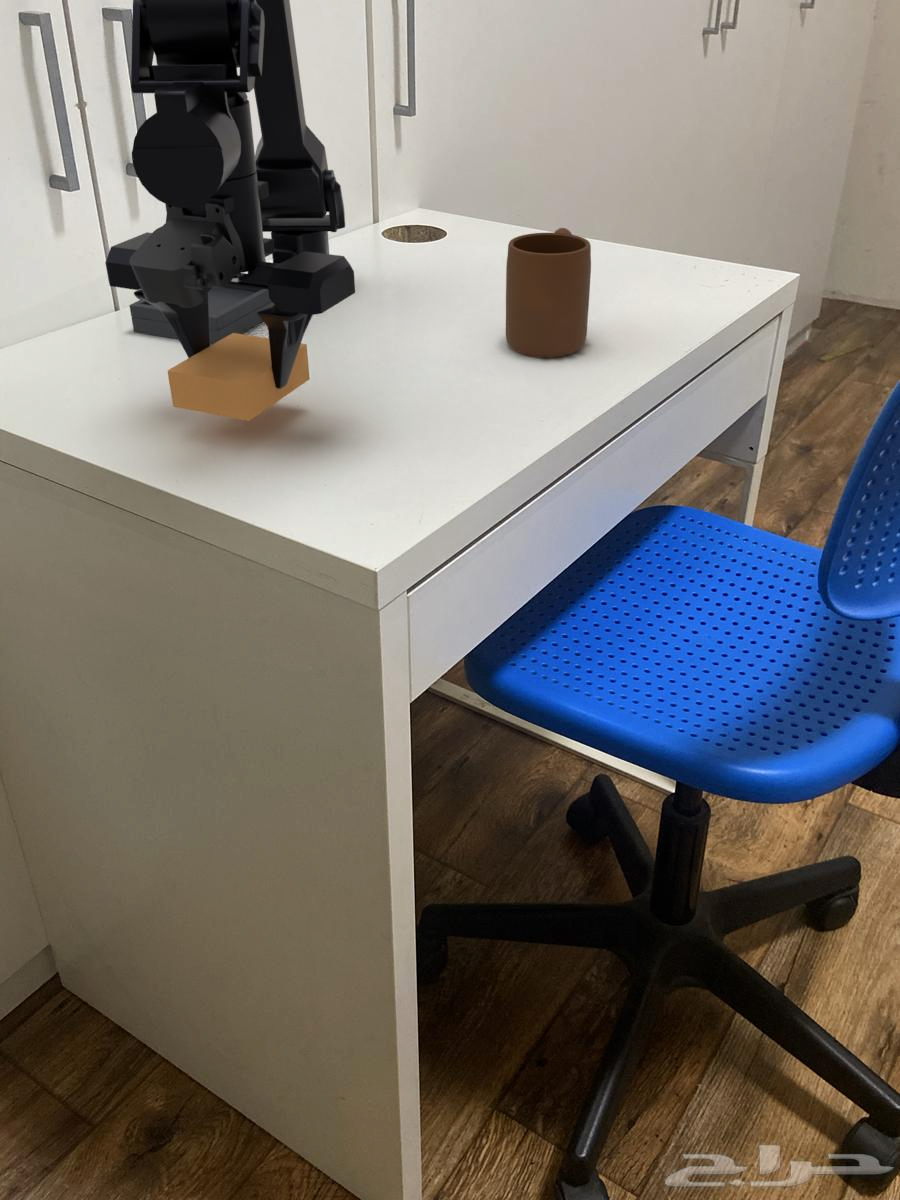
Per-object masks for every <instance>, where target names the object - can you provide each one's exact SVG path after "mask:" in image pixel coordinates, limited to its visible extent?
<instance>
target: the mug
mask: <svg viewBox="0 0 900 1200" xmlns="http://www.w3.org/2000/svg"><path fill="white" fill-rule="evenodd" d="M505 273H506V274H505V339H506V343H507V344H508V346H509V347H510V348H511V349H512V350H513V351H515V352H517V353H519V354H522V355H525V356H530V357H538V358H557V357H563V356H568V355H572V354H574V353H576V352H578V351H579V350H581V349H582V348H583V347H584V345H585V343H586V341H587V335H588V320H589V307H590V293H591V274H592V245H591V242H590V241H589V240H588V239H587V238H584V237H582V236H579V235H575V234H572V232H571V231H570V230H569V229H568V228H565V227H559V228H558V229H556V230H555V231H554V232H534V233H527V234H522V235H518V236H516V237H513V238H512V239H511V240H509V242H508V245H507V257H506V268H505Z"/></svg>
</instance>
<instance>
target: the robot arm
mask: <svg viewBox="0 0 900 1200" xmlns="http://www.w3.org/2000/svg"><path fill="white" fill-rule="evenodd" d="M131 21H132V24H131V29H132V30H131V64H130V65H131V71H130V74H131V75H130V87H131V92H132V94H153V96H154V97H153V98H154V102H155V103H154V104H155V110H156V112H155V113H153V114H152V115H151V116H150V117H148V118H147V119H145V120H144V122H143V123H142V124H141V125H140V127H138V129H137V131H136V134H135V136H134V139H133V143H132V150H131V162H132V166H133V169H134V171H135V172H134V173H135V175H136V176H137V178H138V180H139V182H140V184H141V185H142V186H143V188H144V189H145V190H146V192H148V194H149V195H151V196H152V197H154V198H155V199H156V200H157V201H159V202H161V203H163V204H165V211H166V217H165V223H164V224H163V225H162V226H160V227H158V228H156V229H155V230H153V231H152V232H149V231H148V232H147V231H146V232H144V233H141V234H139V235H136V236H134V237H132V238H129V239H127V240H124V241H122V242H119V243H117V244H114V245H112V246H110V249H109V251H108V253H107V256H106V259H105V262H104V265H105V269H106V270H105V271H106V276H107V280H108V284H109V285H108V286H109V287H113V288H119V289H125V290H126V289H127V290H132V291H133V290H134V292H133V295H134V297H135V298H136V299H137V300H138V301H139V300H144V301H146V302H148V303H150V304H151V305H153V306H154V307H156V308H157V309H159V310H160V311H161V312H162V313H163V314H164V316H165V317H166V319H167V320H168V322H169V323H170V325H171V327H172V328H173V330H174V332H175V333H176V335H177V337H178V339H177V340H178V341H179V343H180V345H181V347H182V348H183V350H184V352H185V355H186V356H187V357H188V358H190V357H192V356H194V355H195V354H197V353H199V352H201V351H202V350H204V349H206V348H208V347H209V346H211V344H210V337H209V308H208V292H209V290H210V289H211V288H218V289H225V288H226V287H227V285H228V284H232V285H239V286H247V287H254V288H261V289H268V291H269V299H270V300H271V301H272V302H273V304H271V305H269V306H267V307H265V308H264V309H262V310H260V311H258V312H257V314H258V315H259V317H260V318H261V319H262V320H263V321H262V322H263V323H264V324H265V325H266V327H267V330H268V332H267V333H268V338H269V343H270V354H271V364H272V372H273V377H274V381H275V386H276V388H278V389H281V388H283V387H284V386H286V384H287V382H288V379H289V376H290V373H291V371H292V368H293V365H294V362H295V359H296V356H297V353H298V350H299V347H300V344H301V343H302V341H303V338H304V335H305V333H306V330H307V328H308V326H309V324H310V322H311V320H312V318H313V316H314V315H321V314H323V313H325V312H327V311H328V310H330V309H331V308H333V307H335V306H336V305H338V304H339V303H341V302H343V301H344V300H346V299H347V298H349V297H351V296H352V295H354V294H356V283H355V271H354V268H353V266H352V265H351V263H350V262H349V261H348V260H347V258H346V257H345V256H344V255H340V254H339V255H338V254H330V244H329V232H331V233H337V232H338V230H340V229H344V228H346V214H345V205H344V204H345V203H344V198H343V192H342V186H341V184H340V183H339V182H338V181H337V178H336V174H335V172H334V169H329V165H328V159H327V158H328V157H327V153H326V152H327V151H326V147H325V145H324V144H323V143H322V141H321V140H320V139H319V138H318V137H317V135H316V134H315V133H314V132H313V130H311V128H309V126H308V125H307V121H306V115H305V107H304V100H303V93H302V92H303V91H302V84H301V76H300V69H299V62H298V54H297V47H296V46H297V45H296V40H295V32H294V24H293V17H292V9H291V1H290V0H132V20H131ZM154 55H155V62H156V64H153V61H154ZM238 68H239V75H238ZM252 91H253V92H254V97H255V103H256V108H257V110H256V111H257V115H258V116H257V117H258V121H259V128H260V134H261V136H260V139H259V141H258V143H257V145H256V149H255V143H254V133H253V124H252V115H251V103H250V100H249V99H248V95H247V93H250V92H252ZM327 213H328V214H327ZM264 233H270V238H267V237H264ZM269 256H272V262H270V261H267V259H266V258H267V257H269ZM188 358H187V359H188Z"/></svg>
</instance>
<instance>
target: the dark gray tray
mask: <svg viewBox="0 0 900 1200" xmlns="http://www.w3.org/2000/svg"><path fill="white" fill-rule="evenodd" d="M271 304H273V302H272V301H271V300H270V299H269V291H268V289H261V288H254V287H247V286H239V285H232V284H228V285H227V287H226V288H225V289H218V288H211V289H210V290H209V292H208V308H209V337H210V345H213V344H215V343H216V342H218V341H220V340H222V339H223V338H225V337H227V336H229V335H230V334H232V333H237V334H243V333H245V332H247V331H248V330H250V329H252V328H255V326H257V325H259V324H260V323H262V322H263V320H262V319H261V318H260V317H259V315H258V314H257V312H258V311H260V310H262V309H264V308H265V307H267V306H269V305H271ZM129 311H130V317H131V323H132V329H133V332H134V333H138V334H144V335H150V336H151V335H152V336H157V337H164V338H170V339H176V340H179V339H178V337H177V335H176V333H175V332H174V330H173V328H172V327H171V325H170V323H169V322H168V320H167V319H166V317H165V316H164V314H163V313H162V312H161V311H160V310H159V309H157V308H156V307H154V306H153V305H151V304H150V303H148V302H146V301H144V300H139V299H138V300H137V301H135V302H133V303H131V304H129Z"/></svg>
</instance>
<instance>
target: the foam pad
mask: <svg viewBox="0 0 900 1200" xmlns="http://www.w3.org/2000/svg"><path fill="white" fill-rule="evenodd" d="M307 344H308V343H302V342H301V344H300V347H299V350H298V353H297V356H296V359H295V362H294V365H293V368H292V371H291V373H290V376H289V379H288V382H287V384H286V386H284V387H283V388H281V389H278V388H276V386H275V381H274V377H273V372H272V364H271V354H270V343H269V337H263V336H255V335H251V334H250V335H249V334H243V333H242V334H237V333H232V334H230V335H229V336H227V337H225V338H223V339H222V340H220V341H218V342H216V343H215V344H210V346H209V347H208V348H206V349H204V350H202V351H201V352H199V353H197V354H195V355H194V356H192V357H190V358H187V359H185V360H183V361H181V362H180V363H178V364H176V365H174V366H173V367H171V368H169V369H167V378H168V384H169V390H170V395H171V401H172V407H173V408H178V409H183V410H187V411H193V412H200V413H205V414H210V415H215V416H220V417H225V418H231V419H236V420H241V421H247V422H250V421H252V420H253V419H255V418H256V417H257V416H259V415H260V414H262V413H264V411H266V410H268V409H269V408H270V407H272V406H273V405H274V404H276V403H277V402H279V401H281V400H282V399H283V398H285V397H287V396H288V395H289V394H291V393H292V392H293V391H295V390H296V389H298V388H299V387H300V386H302V385H304V384H305V383H307V382H308V381H310V379H311V378H310V367H309V356H308V345H307Z"/></svg>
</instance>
